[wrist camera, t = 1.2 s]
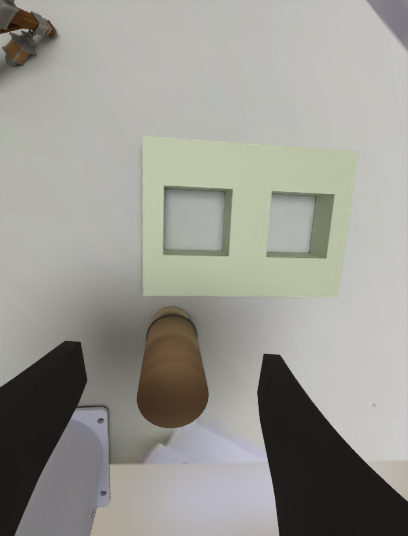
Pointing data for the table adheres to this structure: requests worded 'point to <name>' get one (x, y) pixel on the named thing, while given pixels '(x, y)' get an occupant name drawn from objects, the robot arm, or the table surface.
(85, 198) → the table surface
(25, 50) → the wooden post with brackets
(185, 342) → the peg
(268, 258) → the board
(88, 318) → the table surface
